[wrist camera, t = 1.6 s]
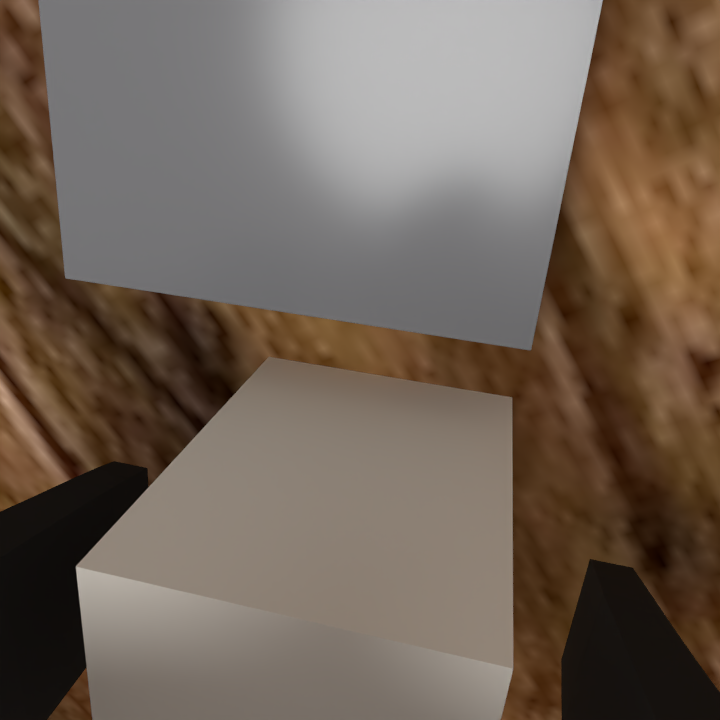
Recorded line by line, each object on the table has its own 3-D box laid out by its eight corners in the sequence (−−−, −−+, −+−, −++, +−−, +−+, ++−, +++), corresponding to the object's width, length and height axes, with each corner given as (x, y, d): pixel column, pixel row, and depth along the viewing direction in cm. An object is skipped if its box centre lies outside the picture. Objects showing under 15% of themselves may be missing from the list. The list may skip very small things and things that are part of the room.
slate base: (115, 257, 12) (65, 278, 11) (81, -270, 9) (6, -333, 8) (528, 318, 11) (531, 350, 9) (645, -268, 8) (673, -344, 6)
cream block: (263, 548, 14) (105, 837, 9) (269, 356, 12) (75, 566, 7) (472, 593, 13) (446, 941, 8) (512, 396, 11) (513, 668, 6)
